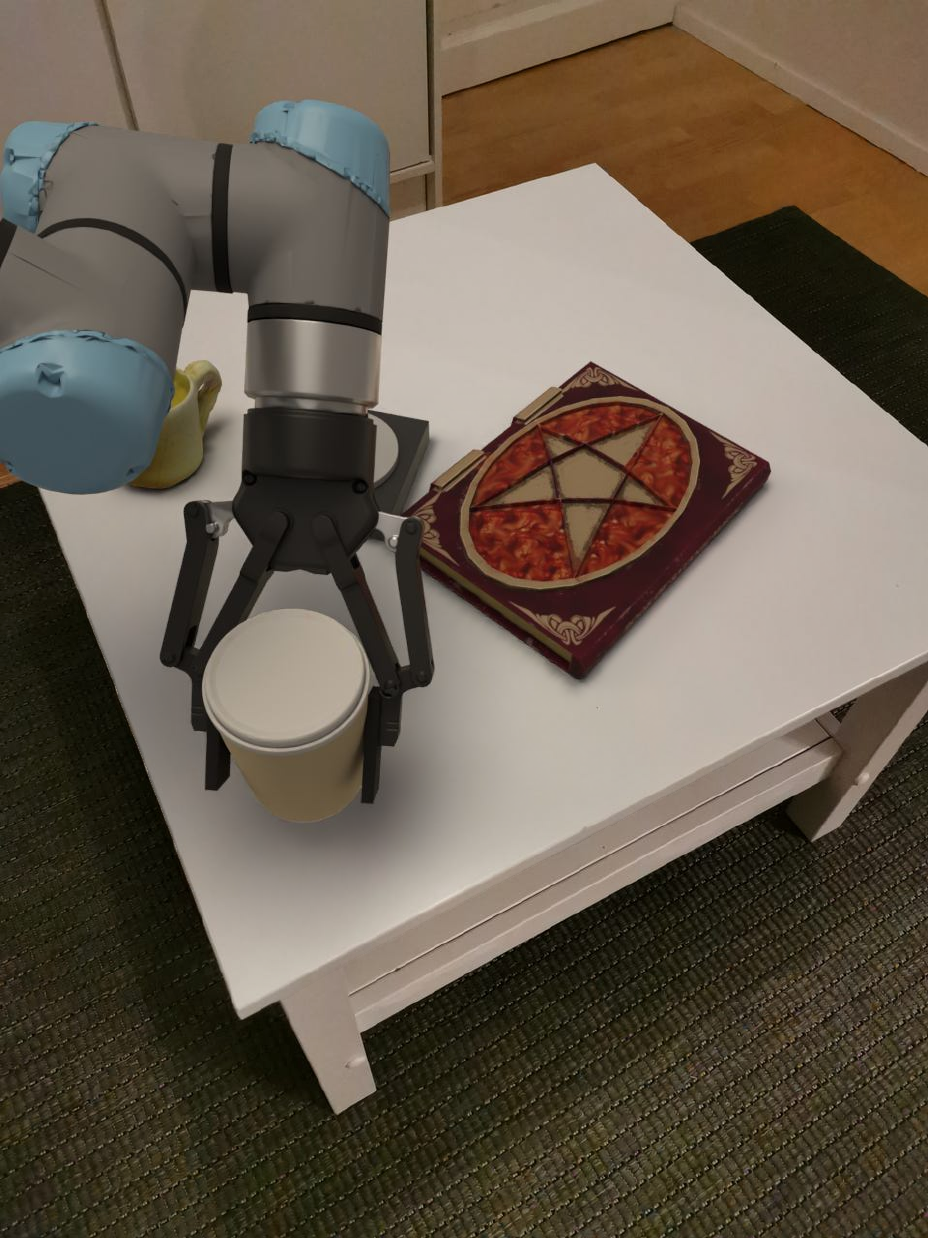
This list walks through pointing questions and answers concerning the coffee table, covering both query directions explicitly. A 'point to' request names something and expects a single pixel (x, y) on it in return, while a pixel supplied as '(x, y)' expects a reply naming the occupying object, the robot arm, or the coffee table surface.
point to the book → (582, 513)
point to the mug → (183, 427)
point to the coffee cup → (292, 710)
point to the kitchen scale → (396, 459)
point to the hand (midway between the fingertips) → (293, 789)
